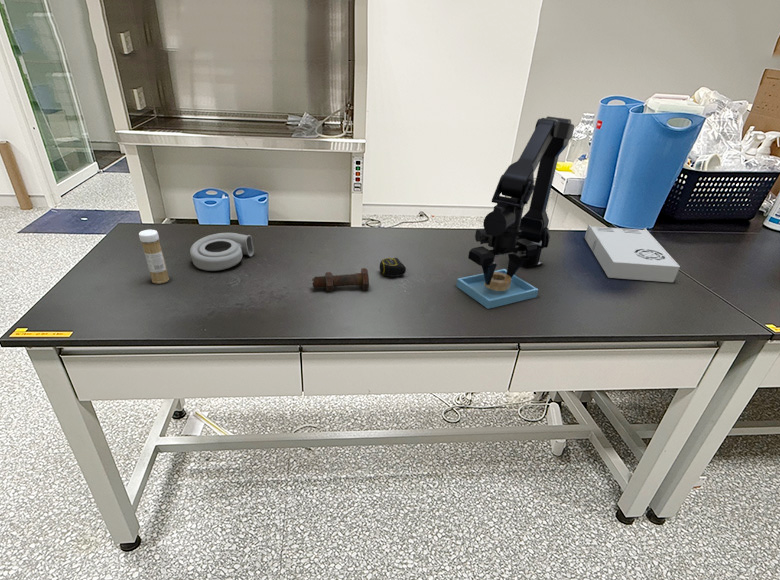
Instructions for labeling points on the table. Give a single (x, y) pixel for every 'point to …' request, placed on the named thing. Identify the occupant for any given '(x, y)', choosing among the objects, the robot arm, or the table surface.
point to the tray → (496, 298)
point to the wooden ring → (499, 282)
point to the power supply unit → (631, 254)
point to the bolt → (342, 280)
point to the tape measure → (392, 267)
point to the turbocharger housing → (221, 251)
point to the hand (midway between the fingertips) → (497, 282)
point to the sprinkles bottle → (154, 256)
